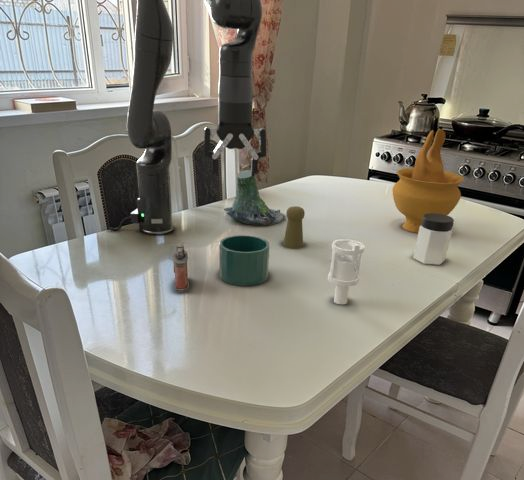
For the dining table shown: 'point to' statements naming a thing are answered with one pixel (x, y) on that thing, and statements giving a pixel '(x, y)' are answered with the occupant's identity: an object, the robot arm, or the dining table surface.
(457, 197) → the decorative bowl
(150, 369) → the dining table surface
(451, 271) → the dining table surface
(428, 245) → the jar
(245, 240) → the ceramic cup
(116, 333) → the dining table surface
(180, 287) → the lighter
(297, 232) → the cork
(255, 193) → the tree stump
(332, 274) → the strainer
